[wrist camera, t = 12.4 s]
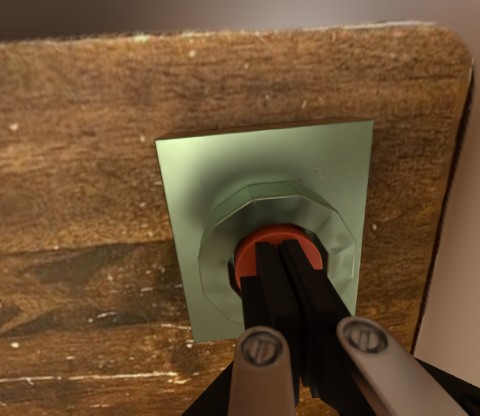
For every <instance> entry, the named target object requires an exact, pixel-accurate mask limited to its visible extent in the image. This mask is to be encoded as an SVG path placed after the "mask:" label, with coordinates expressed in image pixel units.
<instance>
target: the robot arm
mask: <svg viewBox="0 0 480 416" xmlns="http://www.w3.org/2000/svg"><path fill="white" fill-rule="evenodd" d="M255 258H256V275H253V276H242V277H240V287H241V299H242V310H243V320H244V329H245V331H244V332H243V333H241V335H240V336H239V338H238V339H237V342H236V345H235V354H234V360H233V361H232V362H231V363H230V364H229V366H228V367H227V368H226V369H225V370H224V371H223V372H222V373H221V374H220V375H219V376H218V377H217V378H216V379H215V380H214V381H213V383H212V384H211V385H210V386H209V387H208V388H207V389H206V390H205V391H204V392H203V393H202V394H201V395H200V396H199V397H198V398H197V400H196V401H195V402H194V403H193V404H192V405H191V406H190V407H189V408H188V409H187V410H186V411H185V412H184V413H183V414H182V415H181V416H296V410H295V408H296V406H297V405H298V403H299V384H300V378H301V381H302V384H303V386H304V387H308V386H309V388H310V391H311V395H312V398H319V397H320V399H321V400H322V401H323V402H325V403H326V404H328V405H329V406H330V411H331V413H332V416H480V388H478V387H476V386H474V385H472V384H470V383H468V382H465V381H464V380H461V379H459V378H457V377H455V376H453V375H451V374H449V373H447V372H445V371H442V370H440V369H438V368H436V367H434V366H432V365H430V364H428V363H425V362H423V361H421V360H419V359H417V358H415V357H413V356H412V355H411V354H410V353H409V352H408V351H407V350H406V349H405V348H404V347H403V345H402V344H401V343H400V342H399V341H398V340H397V339H396V338H395V337H394V336H393V335H392V334H391V333H390V332H389V331H388V330H387V329H386V328H385V327H384V326H383V325H381V324H380V323H378V322H376V321H375V320H373V319H370V318H367V317H362V316H352V315H351V313H350V312H349V310H348V308H347V307H346V305H345V304H344V302H343V300H342V299H341V297H340V296H339V294H338V292H337V291H336V289H335V288H334V286H333V284H332V283H331V281H330V280H329V278H328V276H327V275H326V273H325V272H324V271H323V269H315V270H314V268H313V266H312V264H311V263H310V261H309V259H308V257H307V256H306V254H305V252H304V250H303V249H302V247H301V245H300V243H299V242H298V240H297V239H288V240H283V241H282V244H278V253H277V250H276V248H275V245H274V244H273V245H270V244H269V241H267V242H256V243H255Z"/></svg>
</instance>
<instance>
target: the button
mask: <svg viewBox="0 0 480 416" xmlns="http://www.w3.org/2000/svg"><path fill="white" fill-rule="evenodd" d="M288 239H297V240H298V242H299V243H300V245H301V247H302V249H303V250H304V252H305V254H306V256H307V257H308V259H309V261H310V263H311V264H312V266H313V268H314V270H315V269H322V259H321V256H320V253H319V251H318V249H317V248H316V246H315V245H314V243H313V242H312V240H311V239H310V237H309V236H308V234H307V233H306V231H305V230H304V229H303V228H301V227H299V226H296V225H294V224H292V223H286V224H276V225H267V226H262V227H260V228H259V229H257V230H256V231H254V232H253V233H251V234H249V235H248V236H246V237H245V238H243V239H242V240H240V241H239V243H238V245H237V247H236V249H235V251H234V264H235V276H236V281H237V284H238V286H239V288H240V290H241V287H240V277H242V276H253V275H256V258H255V243H256V242H267V241H269V244H270V245H273V244H274V245H275V248H276V250H277V253H278V244H282V241H283V240H288Z"/></svg>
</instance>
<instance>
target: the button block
mask: <svg viewBox="0 0 480 416" xmlns="http://www.w3.org/2000/svg"><path fill="white" fill-rule="evenodd" d="M373 128H374V119H369V118H357V117H343V118H332V119H321V120H310V121H299V122H288V123H278V124H267V125H256V126H245V127H234V128H223V129H213V130H202V131H191V132H180V133H169V134H164V135H162V136H160V137H158V138H156V139H155V140H154V144H155V149H156V154H157V159H158V164H159V169H160V174H161V179H162V184H163V189H164V194H165V199H166V204H167V209H168V214H169V219H170V224H171V229H172V234H173V239H174V244H175V249H176V254H177V259H178V264H179V269H180V274H181V279H182V284H183V289H184V294H185V299H186V304H187V309H188V314H189V320H190V325H191V330H192V335H193V340H194V343H199V342H208V341H216V340H225V339H234V338H239V336H240V335H241V333H243V332H244V331H245V329H244V320H243V310H242V299H241V290H240V288H239V286H238V284H237V281H236V276H235V264H234V251H235V249H236V247H237V245H238V243H239V241H240V240H242V239H243V238H245V237H246V236H248V235H249V234H251V233H253V232H254V231H256V230H257V229H259V228H260V227H262V226H267V225H276V224H286V223H292V224H294V225H296V226H299V227H301V228H303V229H304V230H305V231H306V233H307V234H308V236H309V237H310V239H311V240H312V242H313V243H314V245H315V246H316V248H317V249H318V251H319V253H320V256H321V259H322V269H323V271H324V272H325V273H326V275H327V276H328V278H329V280H330V281H331V283H332V284H333V286H334V288H335V289H336V291H337V292H338V294H339V296H340V297H341V299H342V300H343V302H344V304H345V305H346V307H347V308H348V310H349V312H350V313H351V315H352V316H355V309H356V299H357V289H358V279H359V269H360V259H361V249H362V239H363V229H364V218H365V208H366V198H367V188H368V178H369V168H370V158H371V148H372V138H373Z"/></svg>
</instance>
